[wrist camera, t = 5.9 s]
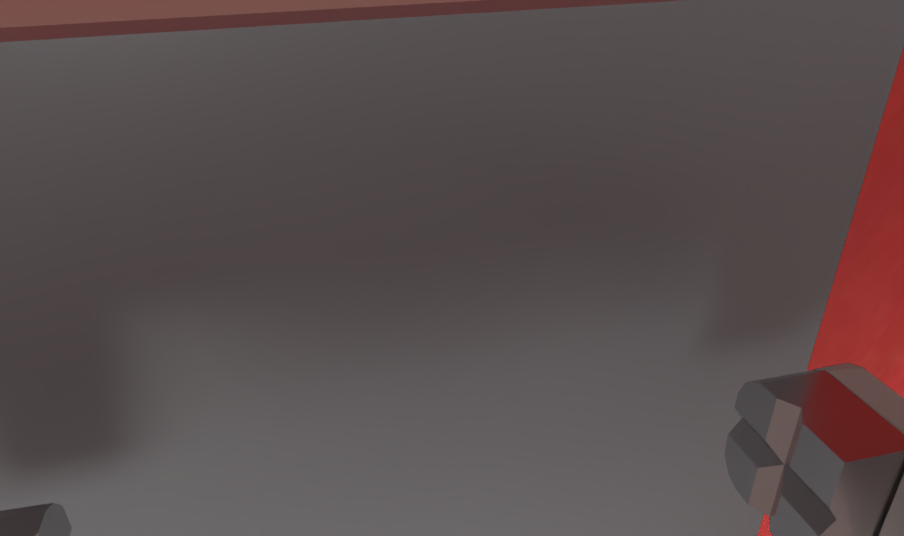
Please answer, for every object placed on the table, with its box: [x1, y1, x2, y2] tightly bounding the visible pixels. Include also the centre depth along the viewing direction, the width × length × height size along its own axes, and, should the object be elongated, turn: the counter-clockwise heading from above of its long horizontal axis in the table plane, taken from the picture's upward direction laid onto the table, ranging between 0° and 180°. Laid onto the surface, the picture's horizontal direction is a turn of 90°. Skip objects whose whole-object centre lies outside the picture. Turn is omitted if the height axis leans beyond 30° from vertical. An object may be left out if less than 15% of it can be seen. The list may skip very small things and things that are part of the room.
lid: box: [0, 0, 904, 536], centre depth 11 cm, size 14×15×1 cm
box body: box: [0, 0, 480, 28], centre depth 15 cm, size 14×14×7 cm
